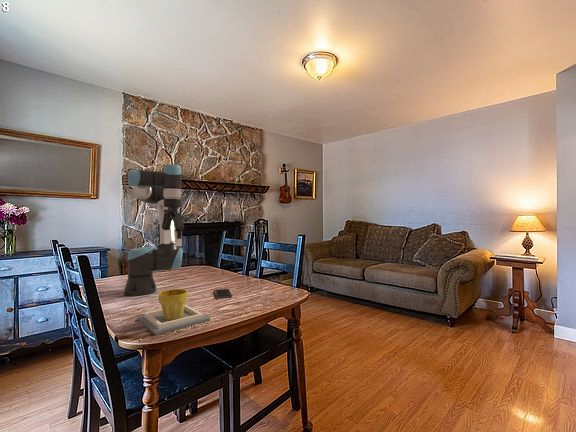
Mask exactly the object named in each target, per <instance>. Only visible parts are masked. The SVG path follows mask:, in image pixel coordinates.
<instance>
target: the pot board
mask: <svg viewBox="0 0 576 432" xmlns="http://www.w3.org/2000/svg"><path fill="white" fill-rule="evenodd" d="M137 320H138V321H139V322H140V323H141V324H142V325H143V324H144V325H143V326H144V327H146V328H147V329H148V330H149V331H150V332H151V333H152V334H154V336H157V335H161V334H164V333H168V332H169V333H170V332H172V331H177V330H180V329H184V328H188V327H191V326H195V325H199V324H202V323H203V324H204V323H206V322H210V321H211V319H210V317H208V316H207V315H205V314H204V313H202V312H200V311H198V310H197V309H195V308H192V306H189V305H187V304H186V303H185V307H184V311H183V316H182V317H181V318H179V319H176V320H166V319H164V315H163V311H162V308H161V309H158V310H153V311H147V312H143V315H140V316H137Z"/></svg>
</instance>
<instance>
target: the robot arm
mask: <svg viewBox="0 0 576 432" xmlns="http://www.w3.org/2000/svg"><path fill="white" fill-rule="evenodd" d="M182 174H183V173H182V167H181V165H178V164H172V163H171V164H170V163H169V164H165V165H164V166H163V171H157V170H143V169H142V170H140V169H129V170H128V173H127V180H128V181H127V184H128V185H129V186H131V187H132V194H133V196H134V197H135V199H137V200H138V201H140V202H143V203H146V204H154V205H156V207H157V209H158V219H159V244H157V246H156V248H153V246H142V247H137V248H133V249H130V250H129V251H128V253H127V254H128V255H127V280H126V283H125V286H124V289H123V294H124V295H125V296H127V297H128V296H129V297H139V296H146V295H150V294H151V295H152V294H154V293H156V292H157V284H156V282H155V278H154V276H153V275H154V274H153V273H154V272H163V271H164V272H165V271H173V270H174V271H175V270H178V269H181V267H182V262H183V254H184V253H183V252H184V249H183V248H182V245H183V243H182V242H183V238H182V237H183V231H184V230H185V225H184V221H183V215H182V209H181V207H182V199H181V198H182V194H183V191H182Z"/></svg>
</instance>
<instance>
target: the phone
mask: <svg viewBox="0 0 576 432" xmlns="http://www.w3.org/2000/svg"><path fill="white" fill-rule="evenodd" d="M213 293H214V297H215V299H216V300H219V299H230V298H231V299H232V298H233V294H232V293H231V291H230V288H229V289H228V288H222V289H220V288H219V289H214V290H213Z"/></svg>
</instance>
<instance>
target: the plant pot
mask: <svg viewBox="0 0 576 432" xmlns="http://www.w3.org/2000/svg"><path fill="white" fill-rule="evenodd" d="M188 293H189V292H188V290H187V289H184V288H172V289H166V290H162V291H160V292H158V303H159V304H160V307H161V309H162V311H163V315H164V319H166V320H176V319H179V318H181V317H182V316H183V311H184V307H185V304H186V301H188V295H189V294H188Z"/></svg>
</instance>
